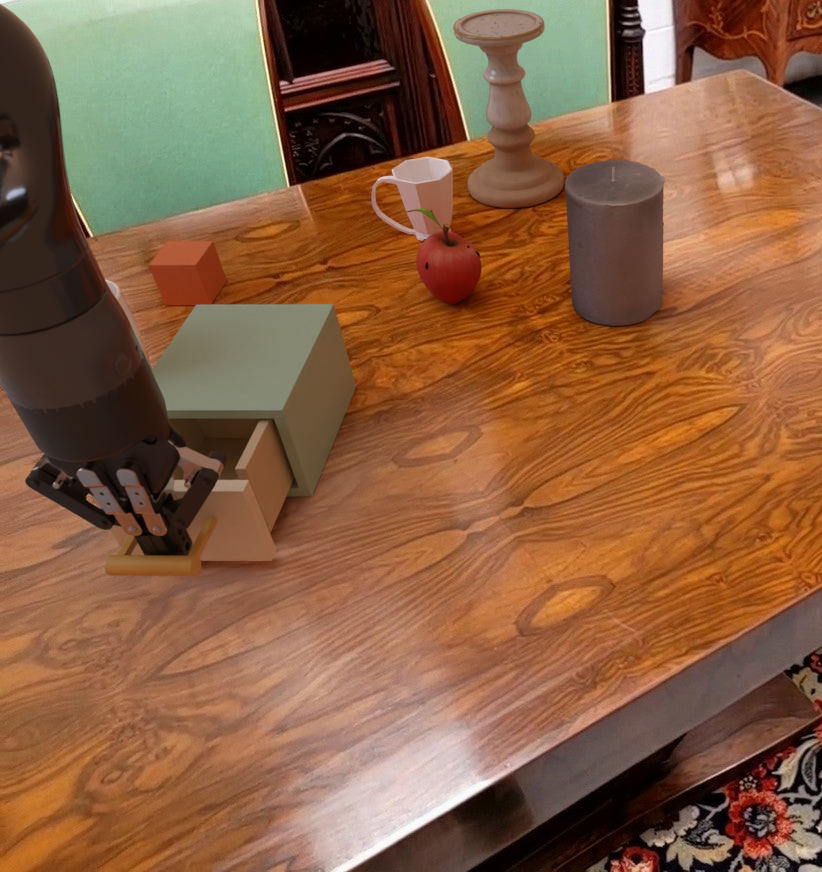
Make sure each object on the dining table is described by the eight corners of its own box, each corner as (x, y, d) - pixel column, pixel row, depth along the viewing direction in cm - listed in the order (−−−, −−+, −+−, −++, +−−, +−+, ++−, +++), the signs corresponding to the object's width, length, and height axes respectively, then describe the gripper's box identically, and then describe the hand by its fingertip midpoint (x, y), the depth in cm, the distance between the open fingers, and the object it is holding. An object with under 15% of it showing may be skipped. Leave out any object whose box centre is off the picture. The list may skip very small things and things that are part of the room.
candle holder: (495, 218, 113) (473, 48, 100) (452, 181, 121) (426, 18, 108) (582, 192, 118) (572, 26, 105) (536, 157, 126) (521, -1, 113)
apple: (491, 280, 103) (479, 196, 96) (481, 314, 97) (468, 228, 91) (421, 280, 103) (405, 196, 96) (408, 315, 98) (390, 228, 91)
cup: (457, 248, 108) (446, 183, 103) (371, 247, 108) (357, 183, 103) (467, 219, 113) (458, 155, 108) (386, 218, 114) (373, 155, 108)
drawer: (248, 616, 67) (216, 546, 62) (96, 615, 67) (52, 545, 62) (321, 442, 81) (299, 374, 76) (194, 442, 81) (165, 374, 76)
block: (164, 305, 100) (147, 264, 96) (182, 281, 104) (167, 240, 100) (211, 305, 100) (195, 264, 96) (227, 280, 103) (213, 240, 100)
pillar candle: (564, 284, 102) (554, 153, 92) (651, 272, 103) (650, 141, 94) (582, 334, 95) (573, 197, 85) (675, 319, 96) (677, 183, 86)
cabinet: (312, 496, 77) (282, 409, 71) (165, 496, 78) (123, 410, 72) (356, 386, 89) (333, 303, 82) (228, 386, 89) (196, 304, 83)
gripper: (206, 328, 58) (282, 521, 69) (-3, 330, 58) (106, 522, 70) (158, 404, 52) (248, 601, 64) (-74, 405, 53) (57, 601, 64)
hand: (174, 559), depth 67 cm, fingers closed
